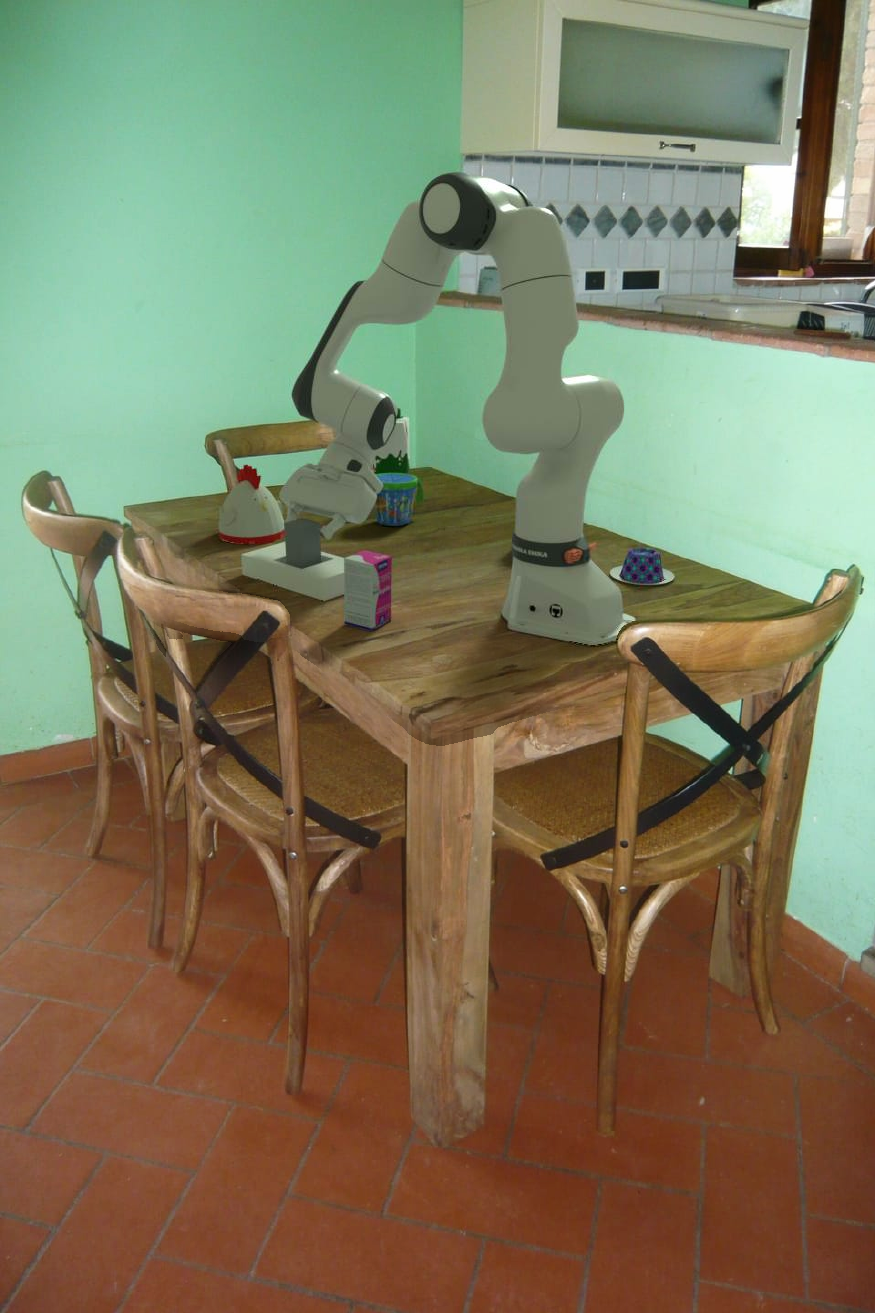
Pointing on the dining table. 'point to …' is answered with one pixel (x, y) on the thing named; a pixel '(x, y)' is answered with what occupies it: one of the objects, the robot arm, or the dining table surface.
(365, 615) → the supplement box
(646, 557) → the pudding
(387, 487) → the snack cup
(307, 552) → the charcoal peg
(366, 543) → the dining table surface
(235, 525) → the kitchen timer
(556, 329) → the robot arm
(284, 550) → the white socket block
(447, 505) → the dining table surface
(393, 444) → the milk carton
